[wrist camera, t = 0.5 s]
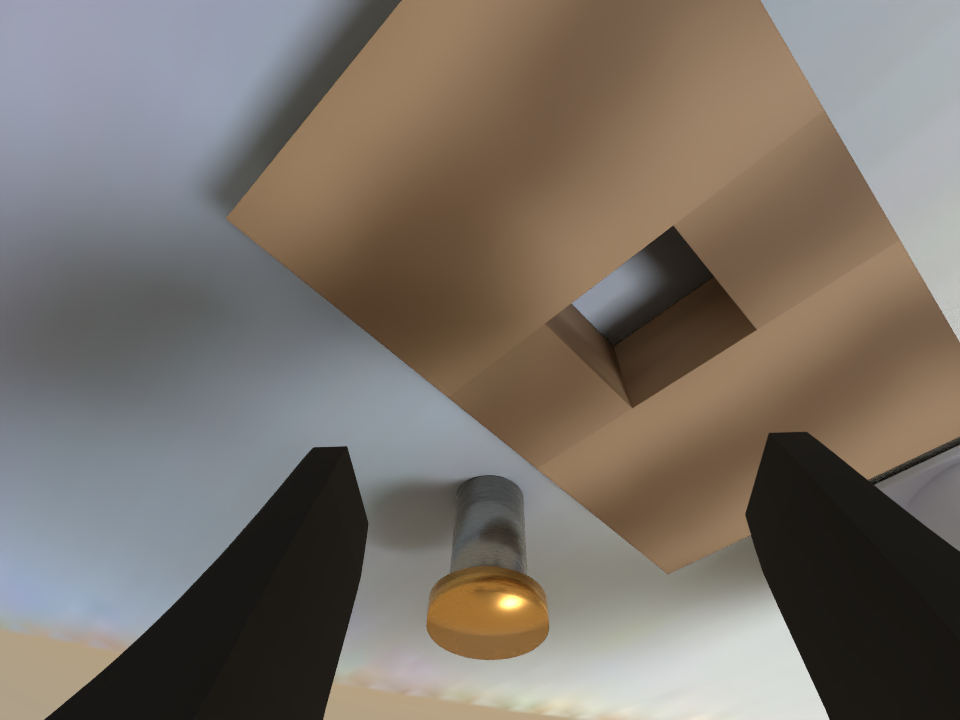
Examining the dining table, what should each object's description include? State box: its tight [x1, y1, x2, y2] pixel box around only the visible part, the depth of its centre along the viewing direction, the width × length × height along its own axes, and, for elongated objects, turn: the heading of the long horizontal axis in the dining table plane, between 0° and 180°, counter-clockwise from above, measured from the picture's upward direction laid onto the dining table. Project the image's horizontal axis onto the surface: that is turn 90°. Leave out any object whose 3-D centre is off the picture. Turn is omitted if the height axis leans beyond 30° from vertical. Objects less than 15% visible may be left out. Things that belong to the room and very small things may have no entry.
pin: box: [427, 476, 549, 660], centre depth 23 cm, size 4×4×6 cm
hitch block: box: [226, 0, 960, 574], centre depth 17 cm, size 20×12×4 cm, turn 44°
